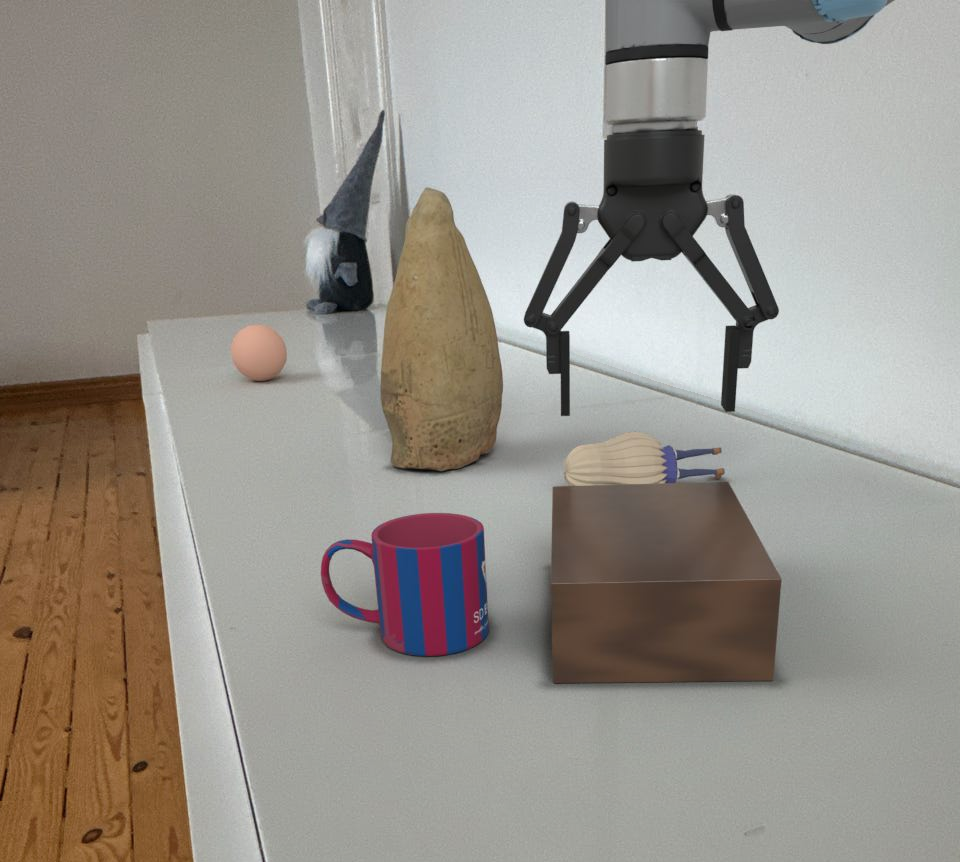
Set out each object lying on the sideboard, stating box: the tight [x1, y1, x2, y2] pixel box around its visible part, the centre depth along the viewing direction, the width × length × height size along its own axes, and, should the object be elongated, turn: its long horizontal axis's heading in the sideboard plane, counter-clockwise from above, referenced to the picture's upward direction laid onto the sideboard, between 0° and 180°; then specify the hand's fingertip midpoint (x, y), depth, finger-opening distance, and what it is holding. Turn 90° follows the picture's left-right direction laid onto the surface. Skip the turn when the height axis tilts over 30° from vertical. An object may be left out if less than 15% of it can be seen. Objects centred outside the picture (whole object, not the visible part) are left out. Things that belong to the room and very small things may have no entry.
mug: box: [320, 512, 490, 657], centre depth 61 cm, size 7×10×7 cm
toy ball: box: [230, 323, 288, 382], centre depth 145 cm, size 8×8×8 cm
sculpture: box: [379, 187, 504, 472], centre depth 95 cm, size 12×11×25 cm
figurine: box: [563, 431, 726, 486], centre depth 87 cm, size 6×4×15 cm
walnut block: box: [550, 481, 782, 684], centre depth 62 cm, size 12×18×6 cm, turn 176°
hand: (645, 410), depth 84 cm, fingers open, 13 cm apart
